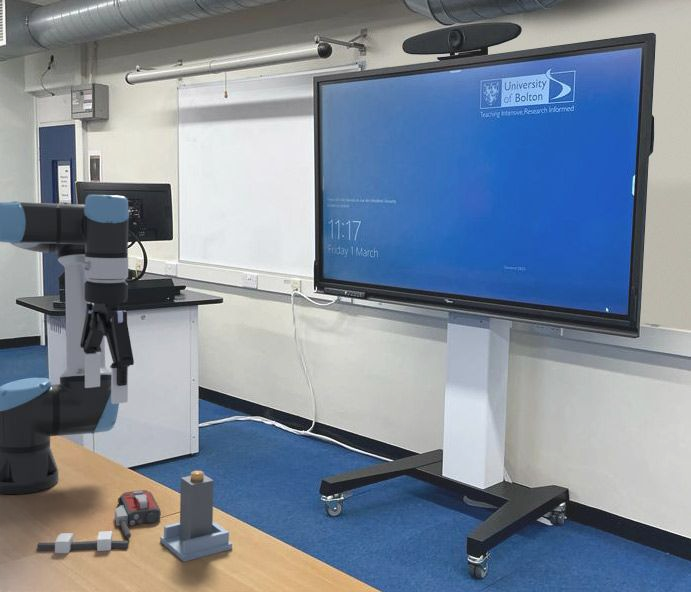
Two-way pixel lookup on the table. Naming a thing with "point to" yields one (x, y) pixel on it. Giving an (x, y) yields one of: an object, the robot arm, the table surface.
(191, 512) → the grey post with ball
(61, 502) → the table surface
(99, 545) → the cable run
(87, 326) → the robot arm
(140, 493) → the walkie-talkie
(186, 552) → the tray
